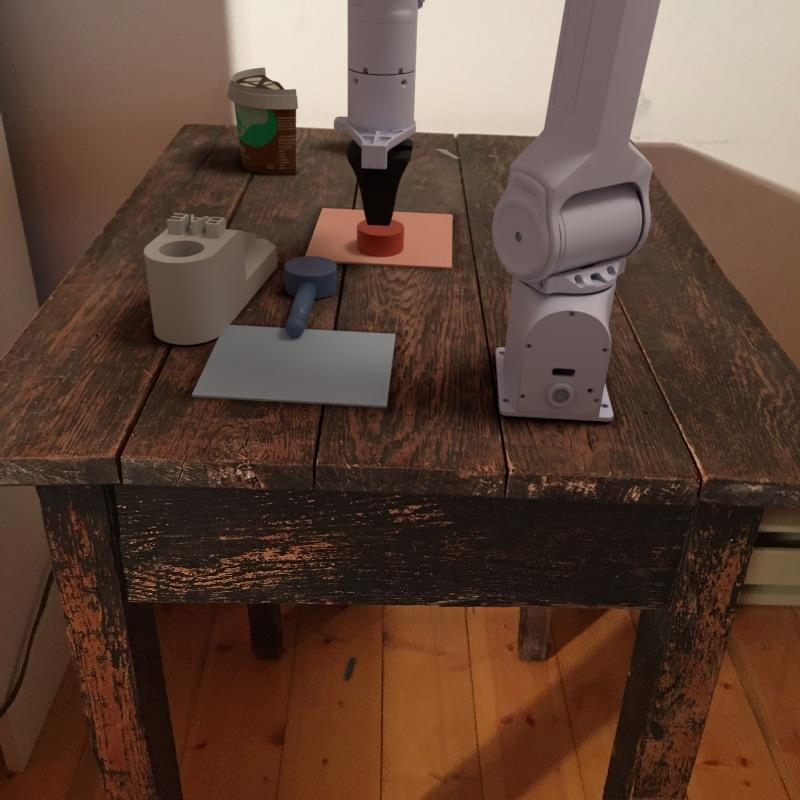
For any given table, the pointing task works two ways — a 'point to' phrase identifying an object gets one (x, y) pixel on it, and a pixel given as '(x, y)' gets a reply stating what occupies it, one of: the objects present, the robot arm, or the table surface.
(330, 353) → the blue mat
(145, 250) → the grey lettered holder
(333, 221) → the rose mat
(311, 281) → the blue spoon
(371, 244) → the red spoon
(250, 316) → the table surface
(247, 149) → the food container
